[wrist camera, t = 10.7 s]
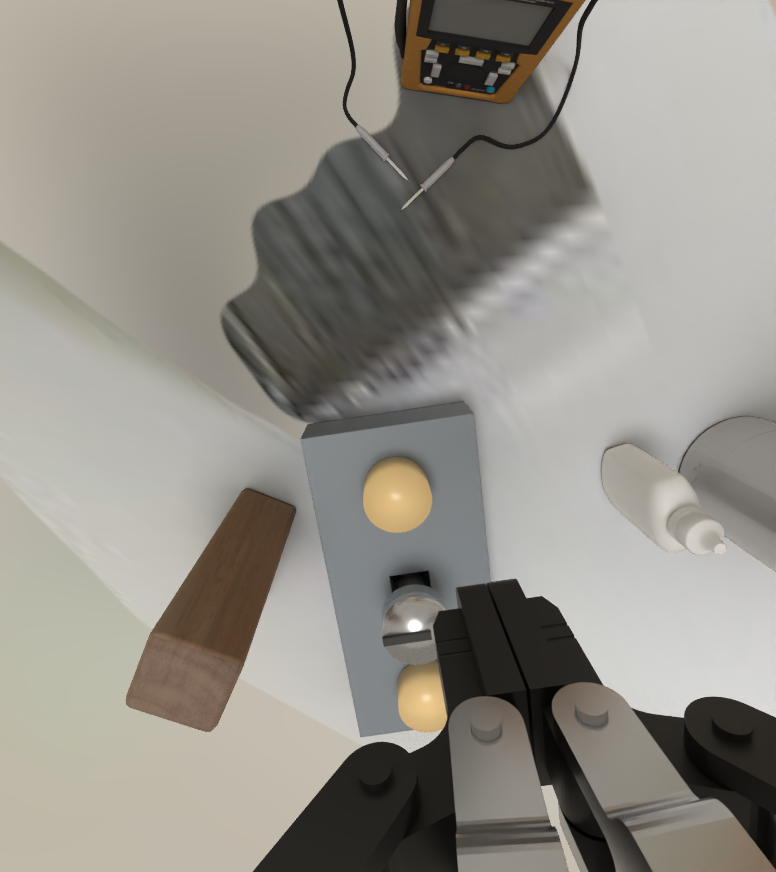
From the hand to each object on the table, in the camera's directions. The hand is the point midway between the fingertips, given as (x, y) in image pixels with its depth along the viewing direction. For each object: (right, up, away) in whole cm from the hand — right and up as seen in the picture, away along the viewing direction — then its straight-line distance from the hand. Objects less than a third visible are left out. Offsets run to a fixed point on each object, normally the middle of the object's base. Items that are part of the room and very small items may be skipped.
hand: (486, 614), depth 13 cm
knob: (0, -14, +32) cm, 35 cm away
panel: (-1, -6, +30) cm, 30 cm away
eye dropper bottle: (+16, +1, +29) cm, 33 cm away
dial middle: (-1, -7, +27) cm, 28 cm away
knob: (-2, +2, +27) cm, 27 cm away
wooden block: (-14, -4, +29) cm, 32 cm away
